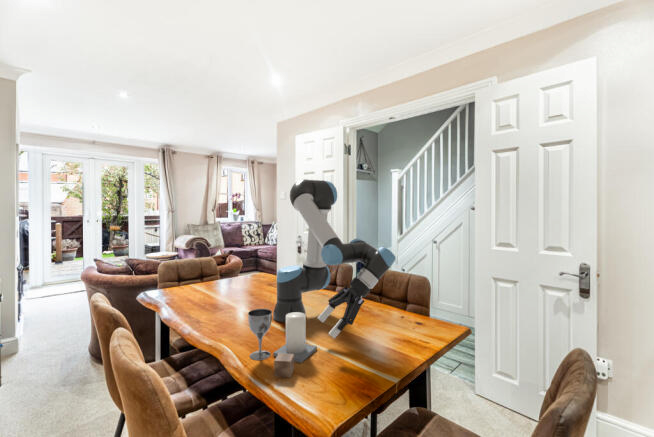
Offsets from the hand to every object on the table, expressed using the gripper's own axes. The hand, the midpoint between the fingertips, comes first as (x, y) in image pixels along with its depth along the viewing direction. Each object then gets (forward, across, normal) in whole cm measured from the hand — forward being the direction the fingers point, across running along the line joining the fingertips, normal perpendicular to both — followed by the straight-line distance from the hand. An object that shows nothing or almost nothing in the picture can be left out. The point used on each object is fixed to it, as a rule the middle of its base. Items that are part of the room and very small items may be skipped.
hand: (325, 327), depth 111 cm
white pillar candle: (+12, 0, -4) cm, 13 cm away
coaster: (+13, 0, -3) cm, 13 cm away
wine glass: (+22, -1, -11) cm, 24 cm away
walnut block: (+17, +12, -8) cm, 22 cm away
